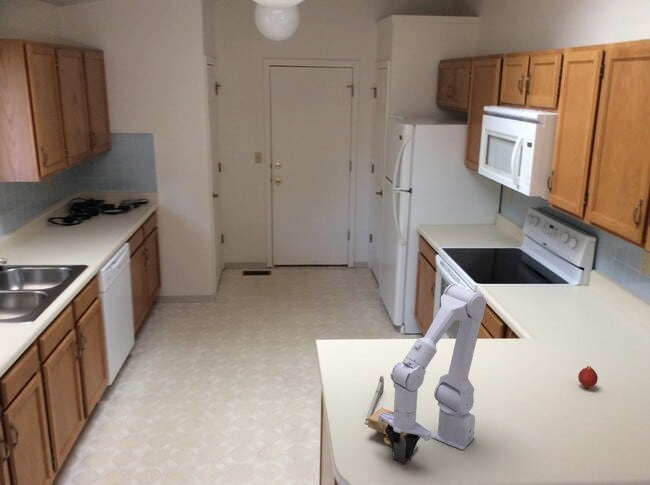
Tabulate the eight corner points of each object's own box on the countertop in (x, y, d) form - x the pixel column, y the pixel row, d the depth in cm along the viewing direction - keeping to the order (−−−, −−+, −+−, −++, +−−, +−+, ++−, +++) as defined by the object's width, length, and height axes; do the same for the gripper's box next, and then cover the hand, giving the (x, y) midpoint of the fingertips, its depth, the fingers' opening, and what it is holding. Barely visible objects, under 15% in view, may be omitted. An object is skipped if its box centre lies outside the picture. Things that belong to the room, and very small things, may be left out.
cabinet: (411, 439, 161) (412, 419, 160) (398, 451, 156) (399, 431, 154) (380, 426, 167) (381, 407, 166) (367, 437, 162) (368, 418, 160)
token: (399, 441, 161) (399, 438, 160) (392, 448, 158) (393, 444, 157) (388, 437, 163) (388, 433, 162) (381, 443, 160) (381, 439, 159)
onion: (581, 381, 195) (584, 360, 193) (598, 388, 191) (602, 366, 189) (574, 387, 191) (577, 365, 189) (591, 394, 187) (595, 371, 185)
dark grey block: (404, 465, 150) (405, 446, 149) (392, 460, 152) (393, 441, 151) (419, 450, 156) (420, 432, 155) (408, 445, 158) (409, 428, 157)
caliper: (380, 391, 187) (381, 373, 185) (383, 391, 187) (384, 374, 185) (364, 424, 168) (365, 405, 167) (368, 425, 168) (368, 406, 166)
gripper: (372, 404, 150) (370, 450, 153) (422, 424, 141) (419, 472, 145) (387, 393, 155) (384, 438, 159) (436, 412, 147) (432, 458, 150)
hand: (402, 453), depth 152 cm, fingers closed on dark grey block, 3 cm apart
